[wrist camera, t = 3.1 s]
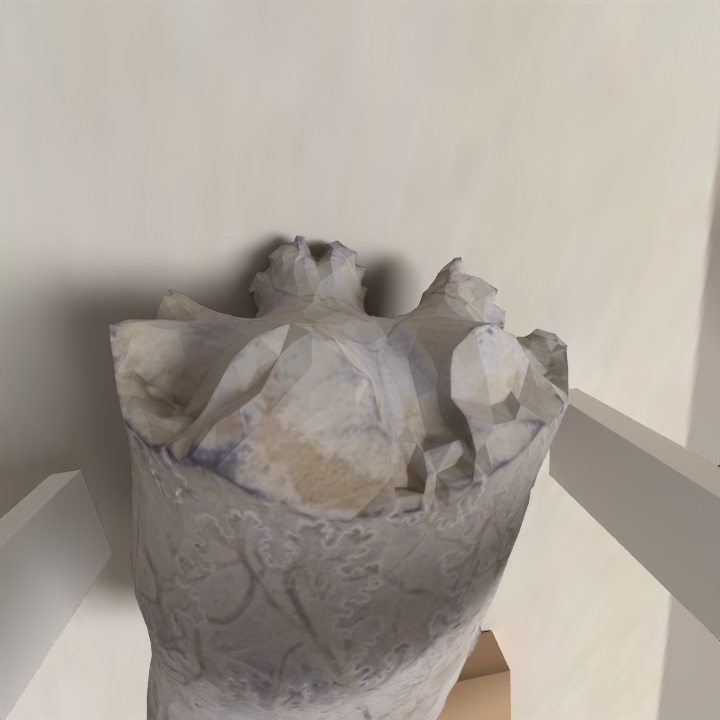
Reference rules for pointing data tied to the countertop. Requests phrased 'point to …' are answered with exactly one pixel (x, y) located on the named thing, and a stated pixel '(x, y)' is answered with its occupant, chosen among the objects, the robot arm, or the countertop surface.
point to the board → (481, 685)
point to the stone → (326, 489)
